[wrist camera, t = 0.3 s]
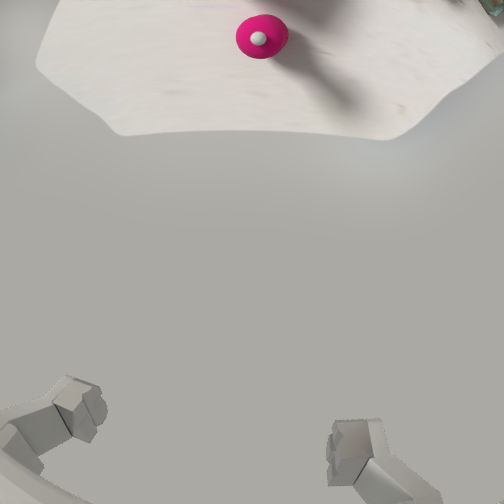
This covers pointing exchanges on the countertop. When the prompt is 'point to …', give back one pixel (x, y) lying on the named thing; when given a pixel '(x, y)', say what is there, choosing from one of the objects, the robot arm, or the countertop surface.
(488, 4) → the stand
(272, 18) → the pepper mill
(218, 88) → the countertop surface
